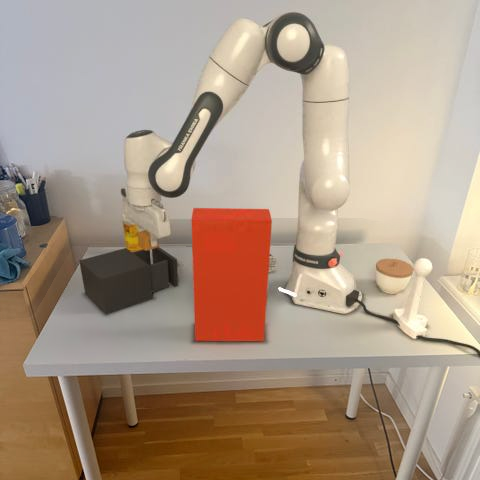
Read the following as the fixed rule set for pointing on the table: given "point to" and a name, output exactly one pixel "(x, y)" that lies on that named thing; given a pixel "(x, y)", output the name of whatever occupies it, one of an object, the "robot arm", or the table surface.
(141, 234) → the block
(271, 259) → the flashlight
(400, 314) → the joystick
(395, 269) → the trinket box
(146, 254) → the drawer
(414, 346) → the table surface
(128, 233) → the vitamin bottle
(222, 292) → the file binder
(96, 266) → the dark grey open box
